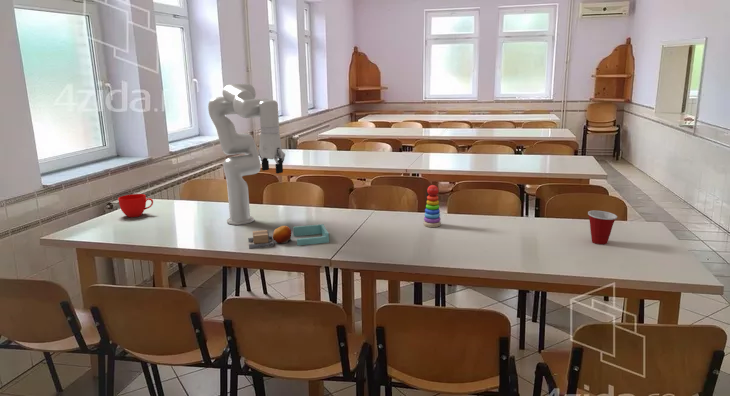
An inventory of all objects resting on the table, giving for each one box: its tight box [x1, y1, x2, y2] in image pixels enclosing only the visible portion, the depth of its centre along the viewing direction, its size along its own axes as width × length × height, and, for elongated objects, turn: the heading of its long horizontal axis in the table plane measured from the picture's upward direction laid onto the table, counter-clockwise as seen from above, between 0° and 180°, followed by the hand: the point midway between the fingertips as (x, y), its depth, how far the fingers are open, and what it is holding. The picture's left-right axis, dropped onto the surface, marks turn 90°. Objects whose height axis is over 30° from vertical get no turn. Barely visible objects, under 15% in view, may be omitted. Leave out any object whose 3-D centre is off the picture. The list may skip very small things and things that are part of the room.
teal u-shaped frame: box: [292, 223, 330, 246], centre depth 230 cm, size 14×13×4 cm
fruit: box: [272, 225, 292, 244], centre depth 227 cm, size 8×8×8 cm
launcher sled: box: [252, 229, 271, 244], centre depth 225 cm, size 7×7×4 cm
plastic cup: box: [587, 210, 618, 245], centre depth 214 cm, size 11×11×12 cm
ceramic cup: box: [118, 193, 154, 218], centre depth 275 cm, size 13×17×10 cm
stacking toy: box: [423, 184, 442, 228], centre depth 243 cm, size 8×8×19 cm
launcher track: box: [248, 235, 275, 249], centre depth 225 cm, size 10×10×2 cm
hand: (272, 171), depth 226 cm, fingers open, 9 cm apart
